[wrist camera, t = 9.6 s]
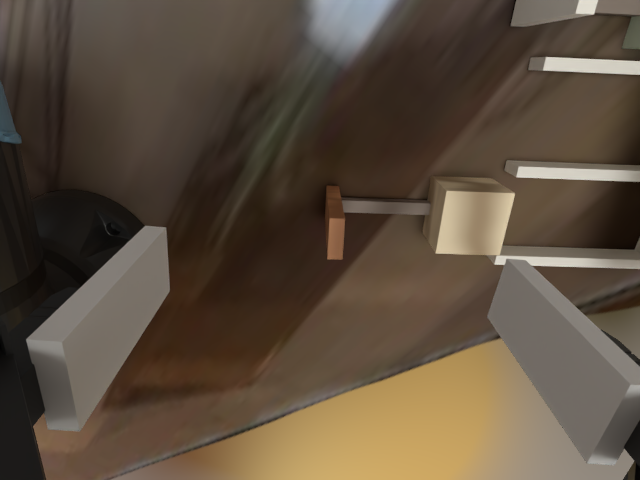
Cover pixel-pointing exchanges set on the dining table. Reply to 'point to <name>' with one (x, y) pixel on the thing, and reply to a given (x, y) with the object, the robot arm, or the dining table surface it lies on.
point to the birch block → (436, 215)
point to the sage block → (579, 13)
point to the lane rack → (579, 172)
